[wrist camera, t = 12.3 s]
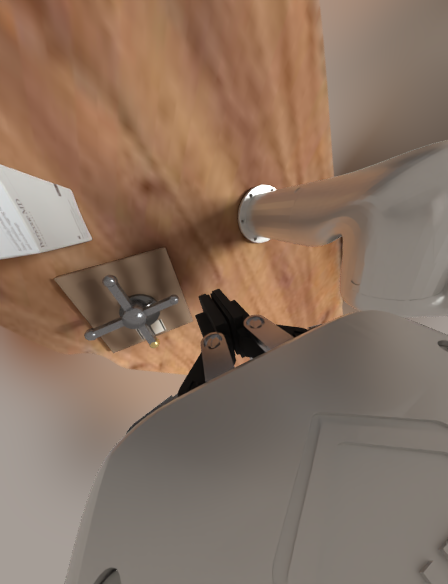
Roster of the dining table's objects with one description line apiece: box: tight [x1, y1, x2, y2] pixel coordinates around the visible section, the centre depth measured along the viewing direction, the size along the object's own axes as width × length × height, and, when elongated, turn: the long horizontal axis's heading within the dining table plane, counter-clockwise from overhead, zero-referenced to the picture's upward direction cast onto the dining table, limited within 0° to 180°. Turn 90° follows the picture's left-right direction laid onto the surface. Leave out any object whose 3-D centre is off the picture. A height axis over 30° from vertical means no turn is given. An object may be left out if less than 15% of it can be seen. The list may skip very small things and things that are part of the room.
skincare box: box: [0, 165, 92, 259], centre depth 20 cm, size 8×6×15 cm
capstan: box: [84, 275, 180, 348], centre depth 33 cm, size 18×18×6 cm
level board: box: [54, 247, 193, 353], centre depth 36 cm, size 20×20×2 cm
